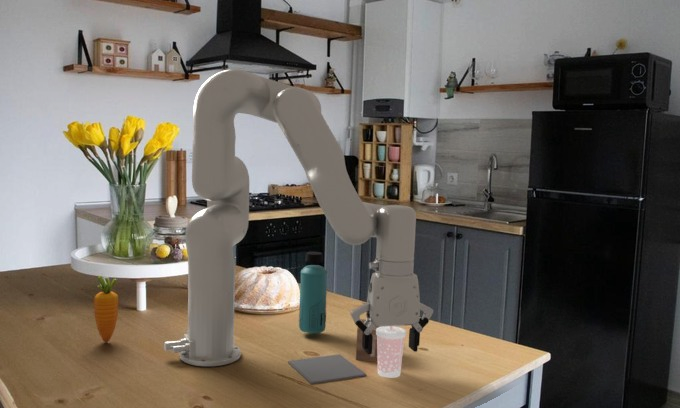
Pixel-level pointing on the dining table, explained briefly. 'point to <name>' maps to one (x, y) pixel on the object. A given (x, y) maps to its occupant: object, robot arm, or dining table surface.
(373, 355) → the letter cube
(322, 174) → the robot arm
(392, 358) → the beverage cup
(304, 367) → the grey mat
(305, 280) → the beverage bottle
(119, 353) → the dining table surface
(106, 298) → the carrot
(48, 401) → the dining table surface
